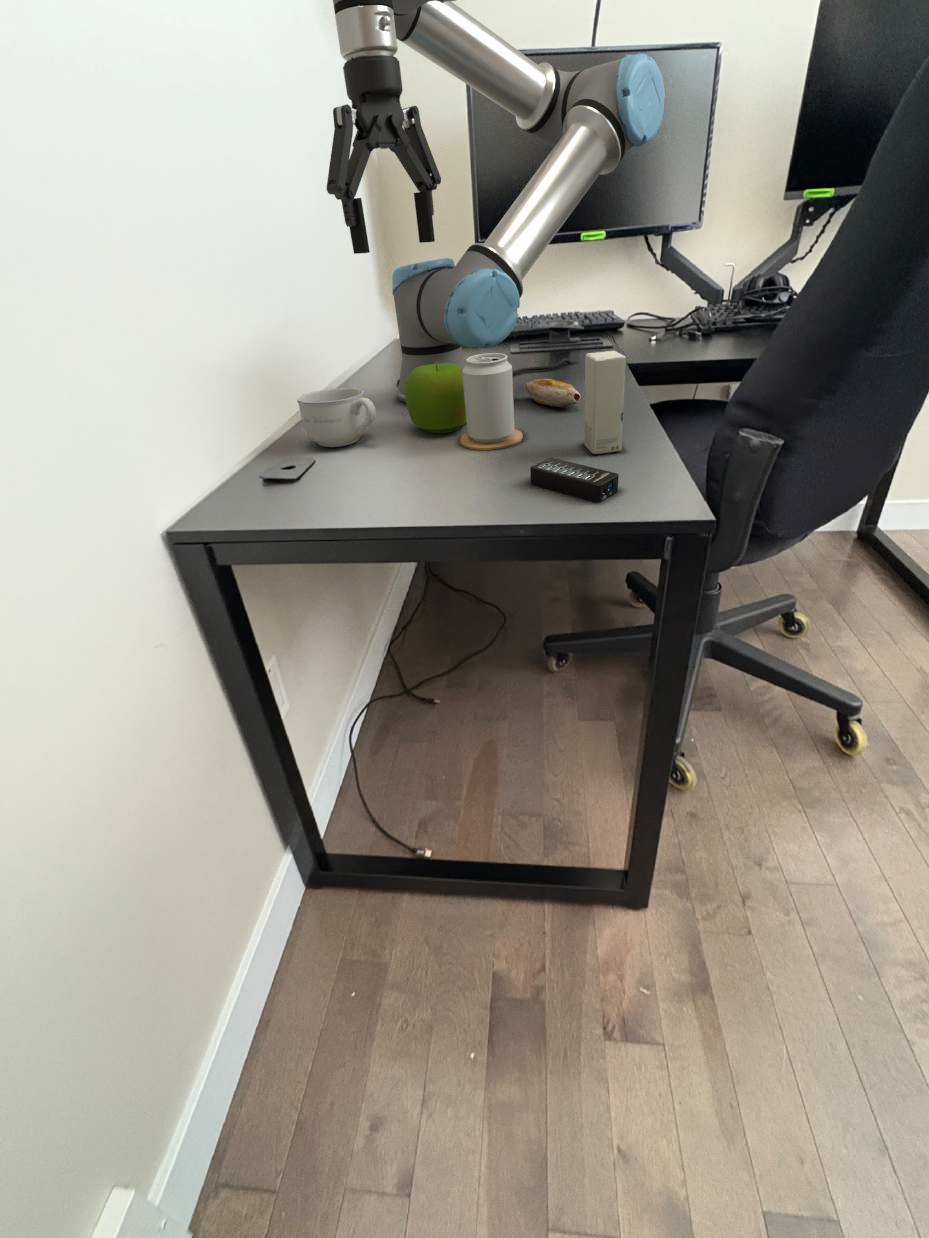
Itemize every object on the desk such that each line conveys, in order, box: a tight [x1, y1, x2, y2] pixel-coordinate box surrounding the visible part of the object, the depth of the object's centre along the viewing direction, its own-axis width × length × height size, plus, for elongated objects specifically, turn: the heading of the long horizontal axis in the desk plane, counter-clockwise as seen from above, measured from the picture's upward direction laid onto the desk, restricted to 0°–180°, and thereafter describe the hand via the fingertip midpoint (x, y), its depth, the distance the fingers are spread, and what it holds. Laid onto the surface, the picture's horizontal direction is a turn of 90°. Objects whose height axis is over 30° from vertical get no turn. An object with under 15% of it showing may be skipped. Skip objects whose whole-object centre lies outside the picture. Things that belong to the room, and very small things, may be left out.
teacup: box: [296, 387, 377, 448], centre depth 98 cm, size 14×11×8 cm
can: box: [462, 352, 515, 443], centre depth 92 cm, size 8×8×12 cm
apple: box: [404, 361, 467, 434], centre depth 99 cm, size 11×11×11 cm
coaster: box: [459, 428, 524, 451], centre depth 95 cm, size 10×10×1 cm
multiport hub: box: [529, 457, 620, 503], centre depth 77 cm, size 4×11×2 cm, turn 45°
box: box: [583, 350, 627, 455], centre depth 84 cm, size 5×4×13 cm
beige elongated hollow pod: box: [524, 378, 582, 408], centre depth 107 cm, size 5×14×4 cm, turn 30°
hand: (395, 247), depth 91 cm, fingers open, 13 cm apart
